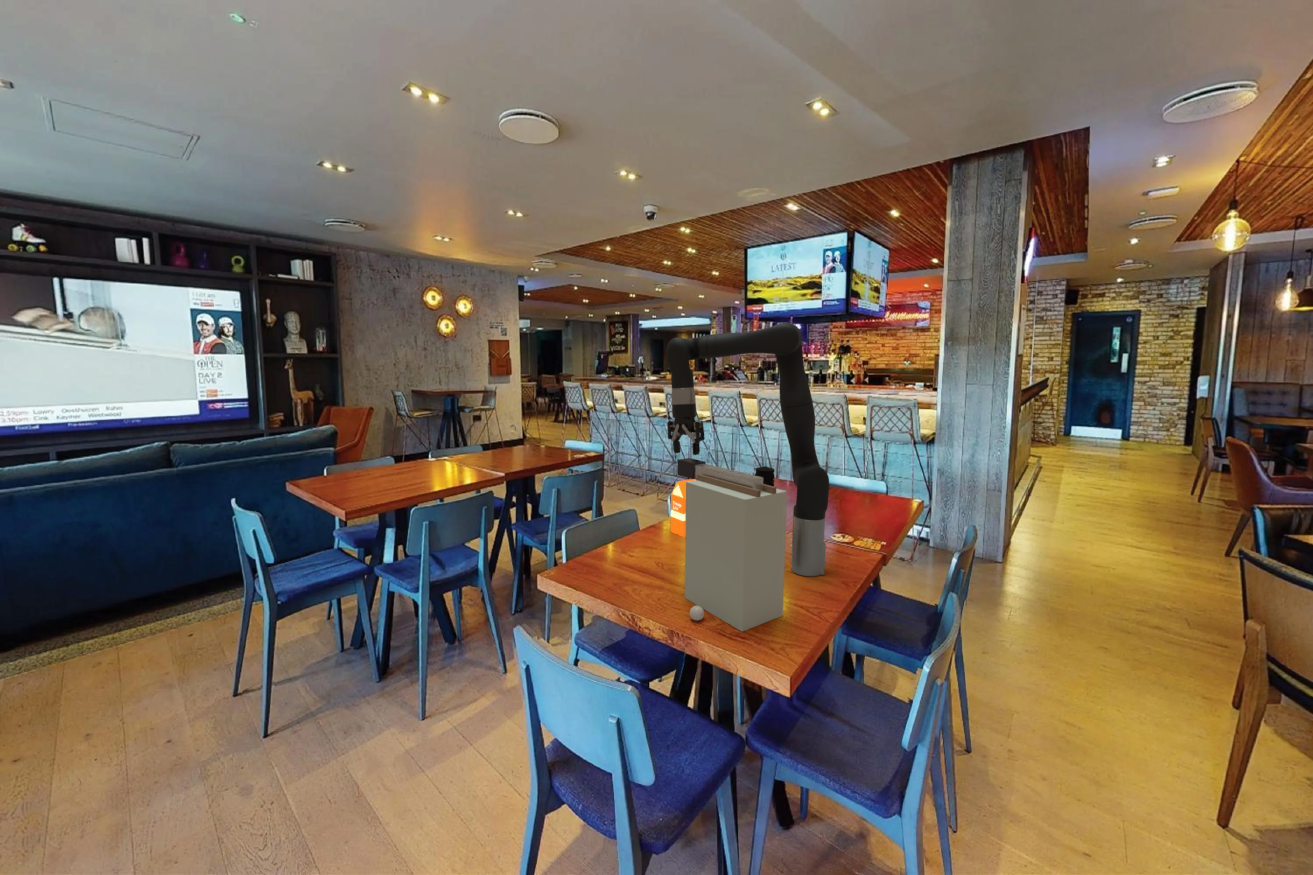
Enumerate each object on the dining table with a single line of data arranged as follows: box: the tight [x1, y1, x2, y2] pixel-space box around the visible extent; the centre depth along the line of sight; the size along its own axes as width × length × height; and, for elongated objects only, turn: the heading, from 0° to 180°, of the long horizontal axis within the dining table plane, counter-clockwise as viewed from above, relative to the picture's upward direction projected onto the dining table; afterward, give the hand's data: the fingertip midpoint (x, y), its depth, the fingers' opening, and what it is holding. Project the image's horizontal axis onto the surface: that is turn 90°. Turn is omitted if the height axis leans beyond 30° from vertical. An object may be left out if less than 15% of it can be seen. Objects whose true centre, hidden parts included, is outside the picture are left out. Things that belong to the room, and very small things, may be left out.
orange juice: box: [670, 479, 697, 538], centre depth 196 cm, size 8×9×20 cm
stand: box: [684, 474, 788, 633], centre depth 135 cm, size 23×14×34 cm, turn 35°
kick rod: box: [676, 457, 763, 492], centre depth 137 cm, size 29×4×4 cm, turn 35°
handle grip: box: [754, 466, 776, 487], centre depth 189 cm, size 10×26×10 cm
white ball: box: [689, 605, 705, 621], centre depth 129 cm, size 4×4×4 cm
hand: (686, 453), depth 166 cm, fingers open, 8 cm apart
